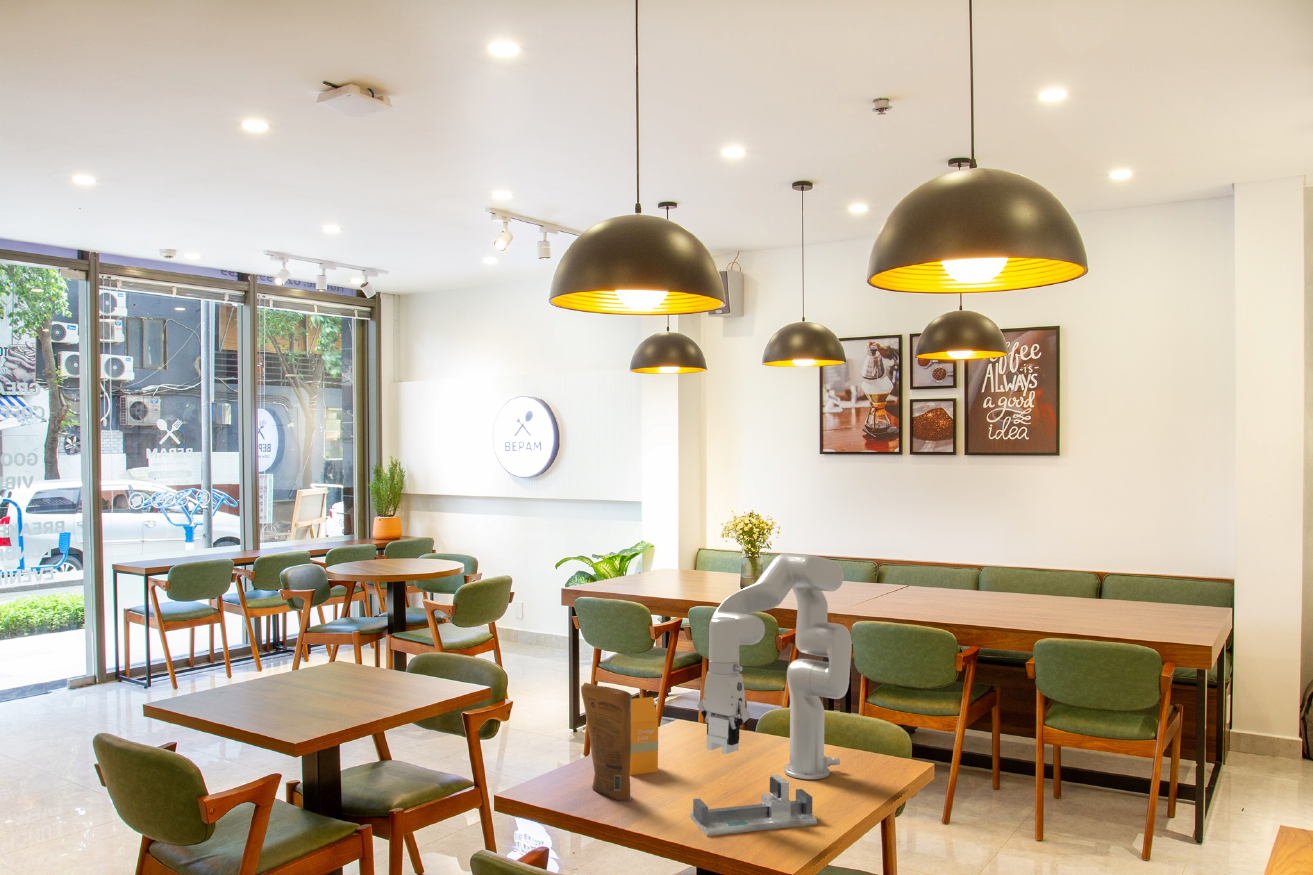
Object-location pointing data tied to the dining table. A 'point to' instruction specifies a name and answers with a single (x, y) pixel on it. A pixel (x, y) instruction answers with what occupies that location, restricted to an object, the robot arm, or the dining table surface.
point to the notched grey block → (719, 734)
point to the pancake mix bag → (609, 738)
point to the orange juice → (644, 736)
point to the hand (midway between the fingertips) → (722, 740)
